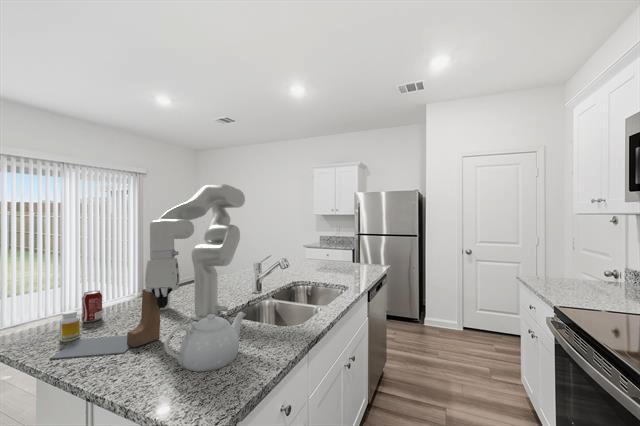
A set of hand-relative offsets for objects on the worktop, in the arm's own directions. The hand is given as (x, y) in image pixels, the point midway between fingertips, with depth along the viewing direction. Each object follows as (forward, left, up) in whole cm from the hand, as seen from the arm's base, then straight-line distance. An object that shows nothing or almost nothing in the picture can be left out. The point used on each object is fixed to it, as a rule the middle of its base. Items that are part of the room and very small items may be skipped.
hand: (162, 307), depth 102 cm
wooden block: (+6, 0, -12) cm, 14 cm away
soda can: (+37, -28, -12) cm, 48 cm away
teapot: (-19, +16, -13) cm, 28 cm away
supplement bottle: (+34, -9, -12) cm, 38 cm away
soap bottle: (+13, -40, -12) cm, 44 cm away
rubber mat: (+20, 0, -12) cm, 23 cm away
